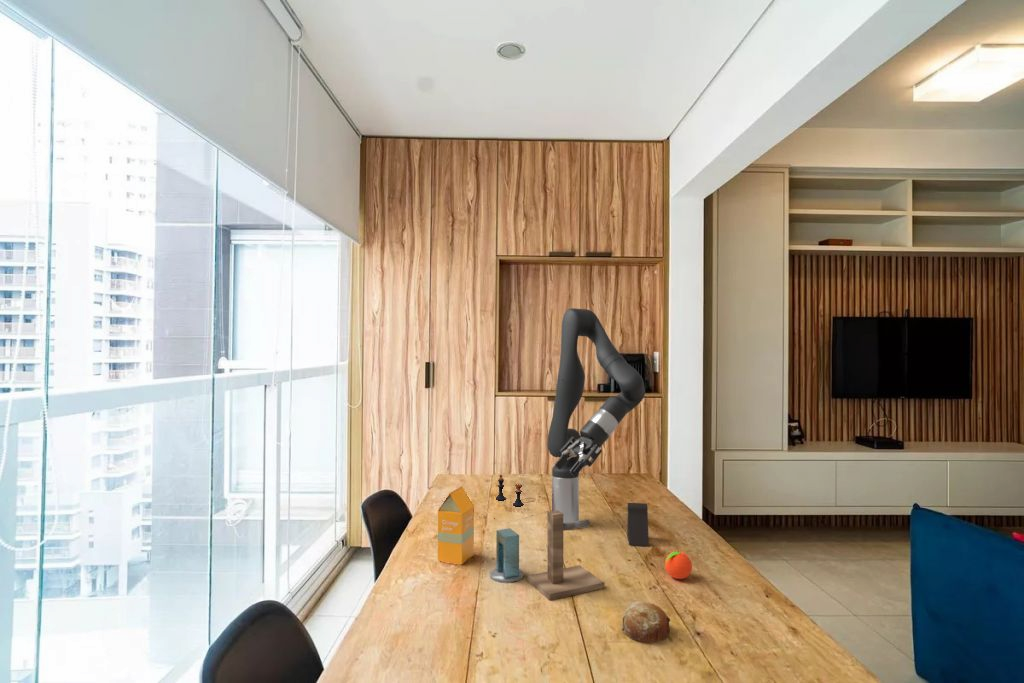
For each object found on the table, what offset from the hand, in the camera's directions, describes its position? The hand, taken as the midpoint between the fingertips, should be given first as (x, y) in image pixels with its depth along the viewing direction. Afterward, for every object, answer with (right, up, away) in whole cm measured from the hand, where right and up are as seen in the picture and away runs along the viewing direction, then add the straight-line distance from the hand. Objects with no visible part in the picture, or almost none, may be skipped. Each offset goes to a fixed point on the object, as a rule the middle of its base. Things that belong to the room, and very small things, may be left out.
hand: (564, 470), depth 153 cm
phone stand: (+25, -27, +19) cm, 42 cm away
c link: (-16, -26, -8) cm, 31 cm away
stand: (-1, -26, -13) cm, 29 cm away
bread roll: (+14, -26, -36) cm, 47 cm away
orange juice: (-31, -27, +5) cm, 42 cm away
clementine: (+29, -27, -9) cm, 41 cm away
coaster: (-16, -27, -7) cm, 32 cm away
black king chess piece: (-16, -29, +65) cm, 73 cm away
